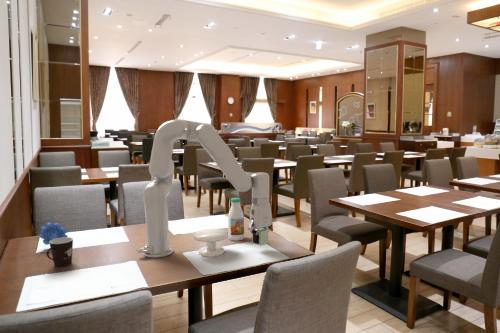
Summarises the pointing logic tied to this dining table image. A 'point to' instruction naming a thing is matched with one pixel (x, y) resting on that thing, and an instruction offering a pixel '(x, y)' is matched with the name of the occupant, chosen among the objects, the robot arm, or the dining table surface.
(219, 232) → the cake stand
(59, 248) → the coffee mug
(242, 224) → the milk bottle
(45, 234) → the grapes
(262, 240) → the block
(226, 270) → the dining table surface
